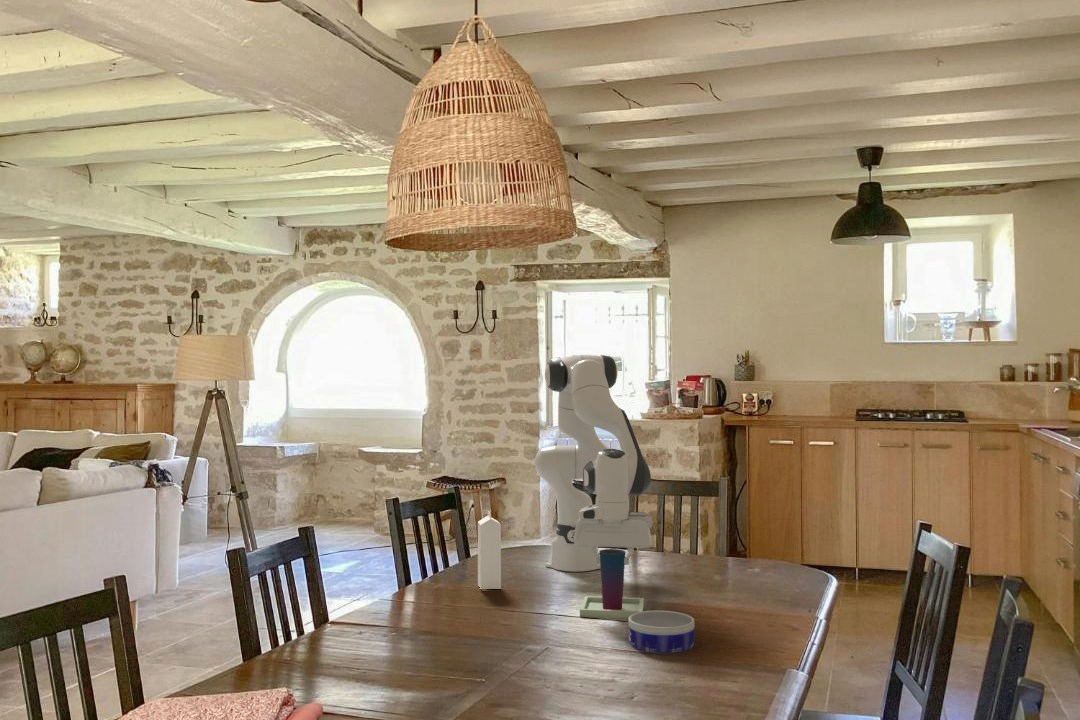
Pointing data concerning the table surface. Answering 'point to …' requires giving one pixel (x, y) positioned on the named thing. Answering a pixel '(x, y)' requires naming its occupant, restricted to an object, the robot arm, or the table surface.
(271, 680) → the table surface
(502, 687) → the table surface
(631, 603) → the tray
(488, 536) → the milk
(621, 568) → the cup
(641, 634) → the dog bowl
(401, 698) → the table surface
